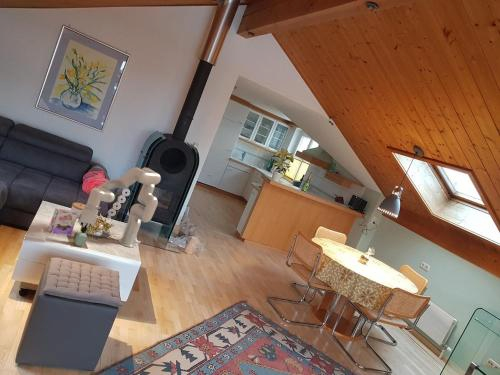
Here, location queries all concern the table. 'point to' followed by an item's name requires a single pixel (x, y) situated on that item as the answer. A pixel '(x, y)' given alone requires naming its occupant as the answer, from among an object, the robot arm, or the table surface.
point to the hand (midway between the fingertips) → (82, 232)
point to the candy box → (63, 221)
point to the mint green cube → (80, 239)
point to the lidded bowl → (77, 208)
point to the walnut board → (72, 243)
